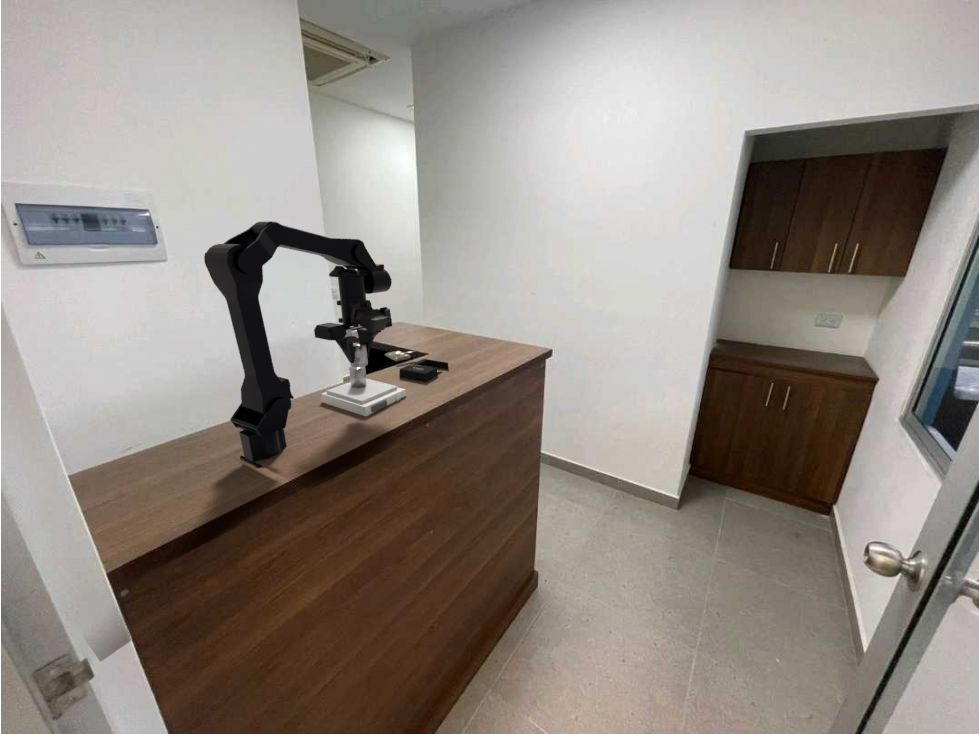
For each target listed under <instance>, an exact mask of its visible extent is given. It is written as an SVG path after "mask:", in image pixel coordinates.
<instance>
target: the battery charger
mask: <svg viewBox="0 0 979 734" xmlns="http://www.w3.org/2000/svg"><path fill="white" fill-rule="evenodd" d="M429 366H431V367H429ZM435 367H437V368H435ZM441 368H445V369H444V370H447V369H448V370H449V362H446V361H439V360H435V359H428V358H423V359H419V360H417V361H415V362H413V363H411V364H408V365H405V366H404V367H401V368H399V373H398V374H399V375H398V376H399V377H398V378H401V379H406V380H409V381H410V380H411V381H420V380H421V382H423V383H427V382H429V381H431V380H433V379H434V378H436V377H438V376H439V375H441V374H442V373H444V371H443V372H437V370H438V369H441Z"/></svg>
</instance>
